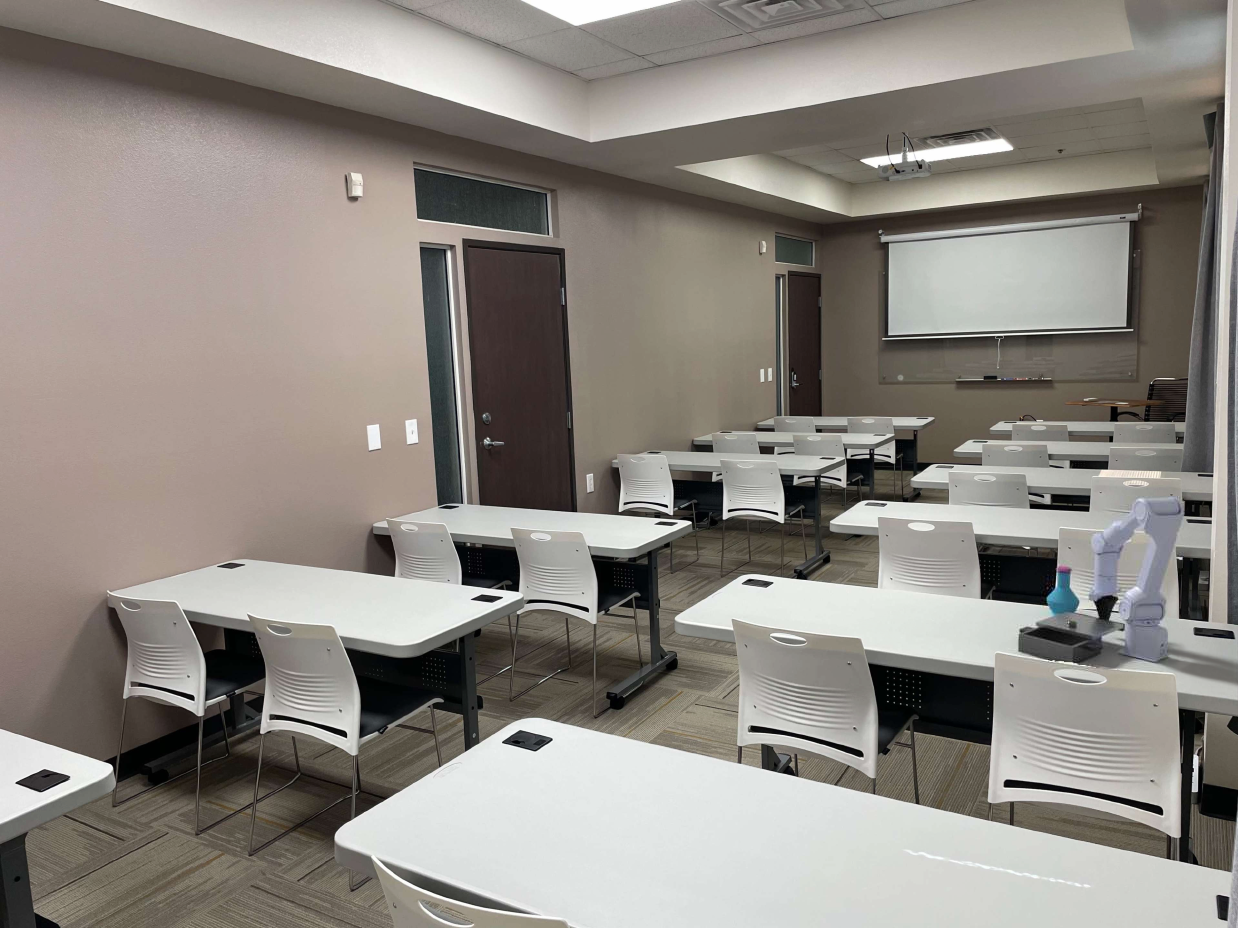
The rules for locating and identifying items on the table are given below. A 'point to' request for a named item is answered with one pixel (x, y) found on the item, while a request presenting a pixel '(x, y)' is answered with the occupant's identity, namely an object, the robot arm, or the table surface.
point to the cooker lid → (1081, 625)
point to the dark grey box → (1057, 645)
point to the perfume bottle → (1062, 594)
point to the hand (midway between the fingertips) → (1104, 620)
